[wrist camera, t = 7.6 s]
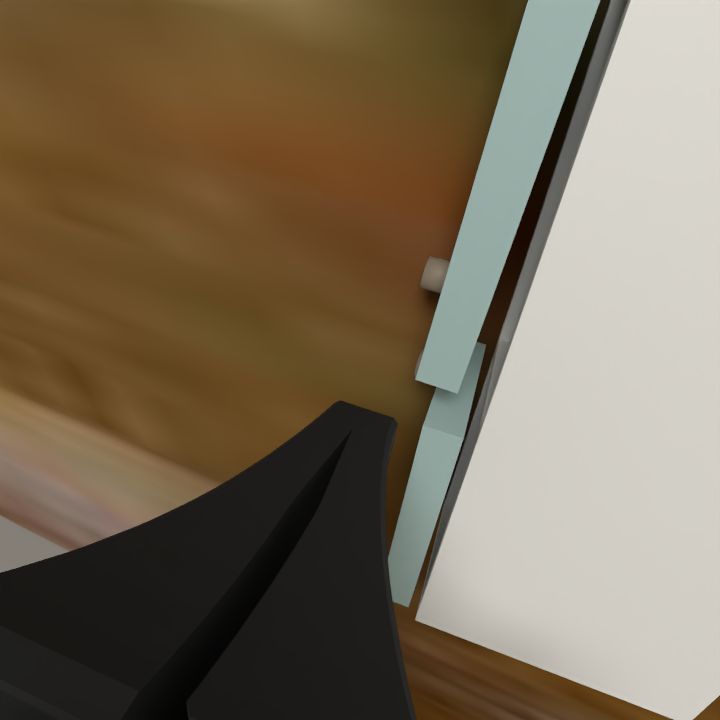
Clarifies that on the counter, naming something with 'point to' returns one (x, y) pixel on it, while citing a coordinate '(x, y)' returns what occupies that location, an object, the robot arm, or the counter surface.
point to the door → (502, 182)
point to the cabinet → (597, 398)
